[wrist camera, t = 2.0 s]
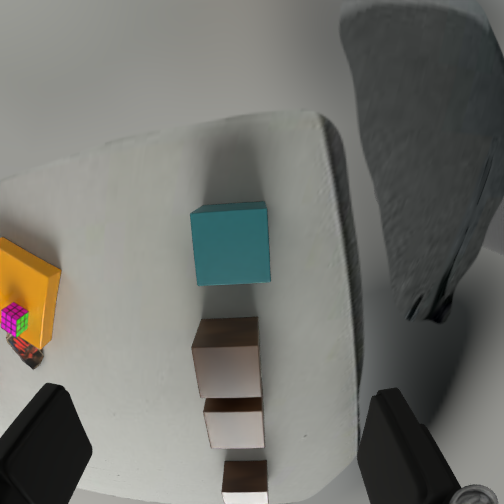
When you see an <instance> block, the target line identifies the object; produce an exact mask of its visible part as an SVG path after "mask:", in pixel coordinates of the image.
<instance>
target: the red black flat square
mask: <svg viewBox="0 0 504 504" xmlns="http://www.w3.org/2000/svg"><path fill="white" fill-rule="evenodd" d="M7 338H8V339H7ZM6 339H7V342H8V344H9V345H11V347H12V349H13V350H14V351H15V352H16V353H17V354H18V355H19V357H20V358H21V360H22V361H23V362H24V363H26V364H27V365H28V366H30V367H31V368H32V369H35V368H36V367H37V366H39V365H40V364H41V362H42V359H43V357H44V355H43V354H42V353H41V352H40V350H39V349H38V348H37V347H35V346H34V345H32V344H30V343H29V342H27V341H26V340H24V339H23V338H21V337H20V336H18V337H17V338H15V337H14V336H12V335H10V334H9V333H7V337H6ZM41 350H42V349H41Z"/></svg>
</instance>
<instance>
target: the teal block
mask: <svg viewBox="0 0 504 504" xmlns="http://www.w3.org/2000/svg"><path fill="white" fill-rule="evenodd" d="M190 219H191V230H192V240H193V250H194V259H195V268H196V277H197V285H198V286H208V285H229V284H249V283H267V282H271V274H270V253H269V234H268V215H267V207H266V204H265V202H264V201H262V202H245V203H230V204H215V205H203V206H201V207H200V208H198V209H196V210H195V211H193V212H192V213H190Z"/></svg>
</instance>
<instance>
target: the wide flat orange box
mask: <svg viewBox="0 0 504 504" xmlns="http://www.w3.org/2000/svg"><path fill="white" fill-rule="evenodd" d="M60 276H61V270H60V269H59V268H57V267H55V266H53V265H51V264H49V263H47V262H46V261H44V260H42V259H40V258H38V257H37V256H35V255H33V254H31V253H29V252H28V251H26V250H24V249H23V248H21V247H19V246H17V245H16V244H14V243H12V242H11V241H9V240H7V239H6V238H4V237H1V238H0V323H1V328H2V329H4V330H5V331H7V332H8V333H9V334H11V335H12V336H14V337H15V338H17V337H18V336H20V337H21V338H23V339H24V340H26V341H27V342H29V343H30V344H32V345H34V346H35V347H37V348H38V349H40V350H41V349H42V348H43V347H44V346H45V345H46V344H47V343H48V342H49V341H51V339H52V330H53V321H54V313H55V306H56V299H57V293H58V287H59V281H60Z"/></svg>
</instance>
